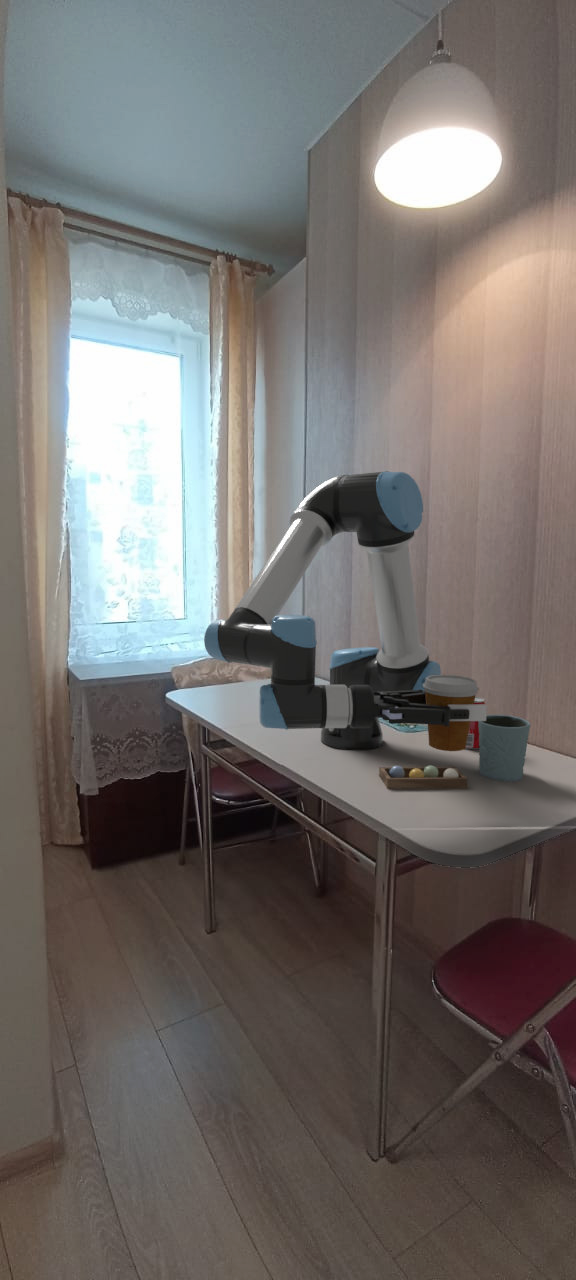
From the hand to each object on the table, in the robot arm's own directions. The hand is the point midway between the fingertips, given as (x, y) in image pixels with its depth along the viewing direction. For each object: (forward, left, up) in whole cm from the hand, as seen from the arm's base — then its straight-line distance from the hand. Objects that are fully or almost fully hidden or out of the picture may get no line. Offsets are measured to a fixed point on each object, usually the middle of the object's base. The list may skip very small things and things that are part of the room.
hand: (475, 706), depth 107 cm
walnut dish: (-13, -5, -19) cm, 24 cm away
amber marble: (-12, -6, -19) cm, 23 cm away
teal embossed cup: (-17, +13, -19) cm, 29 cm away
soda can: (-37, +14, -19) cm, 44 cm away
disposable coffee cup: (0, -5, -7) cm, 9 cm away
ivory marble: (-12, +1, -19) cm, 22 cm away
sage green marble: (-14, -3, -19) cm, 23 cm away
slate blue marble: (-14, -10, -19) cm, 25 cm away
